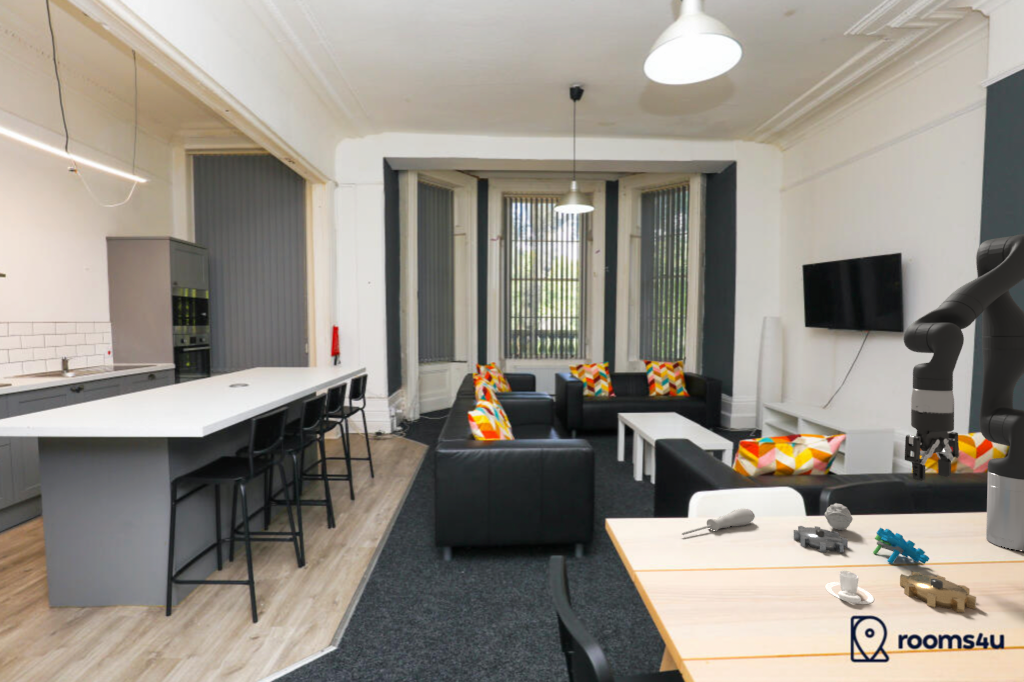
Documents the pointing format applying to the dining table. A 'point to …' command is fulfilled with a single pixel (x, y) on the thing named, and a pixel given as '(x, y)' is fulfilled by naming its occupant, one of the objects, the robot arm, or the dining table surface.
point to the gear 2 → (898, 546)
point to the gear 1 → (820, 539)
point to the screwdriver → (728, 520)
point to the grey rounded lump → (838, 516)
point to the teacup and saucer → (849, 588)
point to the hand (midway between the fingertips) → (931, 478)
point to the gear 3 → (937, 591)
